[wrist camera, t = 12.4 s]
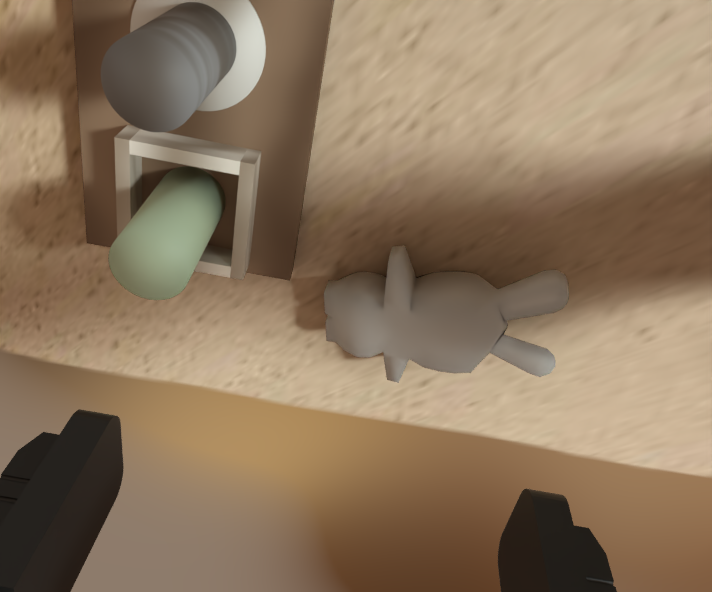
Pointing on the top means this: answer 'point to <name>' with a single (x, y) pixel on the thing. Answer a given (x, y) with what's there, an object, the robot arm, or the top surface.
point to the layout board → (202, 115)
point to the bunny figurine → (439, 317)
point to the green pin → (168, 234)
